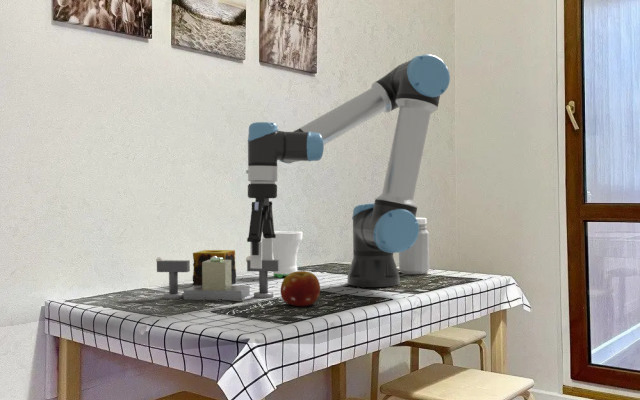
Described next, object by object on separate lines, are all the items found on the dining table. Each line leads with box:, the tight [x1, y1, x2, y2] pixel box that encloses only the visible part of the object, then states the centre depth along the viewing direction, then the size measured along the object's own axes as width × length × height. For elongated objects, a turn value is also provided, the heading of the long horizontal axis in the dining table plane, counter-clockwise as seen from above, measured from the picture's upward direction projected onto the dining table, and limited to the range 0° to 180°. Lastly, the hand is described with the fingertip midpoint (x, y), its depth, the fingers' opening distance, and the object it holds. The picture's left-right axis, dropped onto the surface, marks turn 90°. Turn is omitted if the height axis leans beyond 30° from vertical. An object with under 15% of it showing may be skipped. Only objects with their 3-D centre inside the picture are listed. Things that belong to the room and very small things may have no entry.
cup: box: [273, 230, 304, 279], centre depth 215 cm, size 11×11×14 cm
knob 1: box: [155, 256, 191, 300], centre depth 174 cm, size 8×5×10 cm, turn 83°
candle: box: [192, 249, 237, 286], centre depth 197 cm, size 10×10×10 cm
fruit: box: [280, 270, 321, 307], centre depth 162 cm, size 10×9×8 cm
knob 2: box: [245, 255, 279, 299], centre depth 174 cm, size 8×5×10 cm, turn 83°
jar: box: [398, 217, 430, 275], centre depth 222 cm, size 10×10×18 cm
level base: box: [183, 256, 251, 301], centre depth 175 cm, size 15×9×11 cm, turn 83°
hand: (261, 265), depth 174 cm, fingers open, 13 cm apart
